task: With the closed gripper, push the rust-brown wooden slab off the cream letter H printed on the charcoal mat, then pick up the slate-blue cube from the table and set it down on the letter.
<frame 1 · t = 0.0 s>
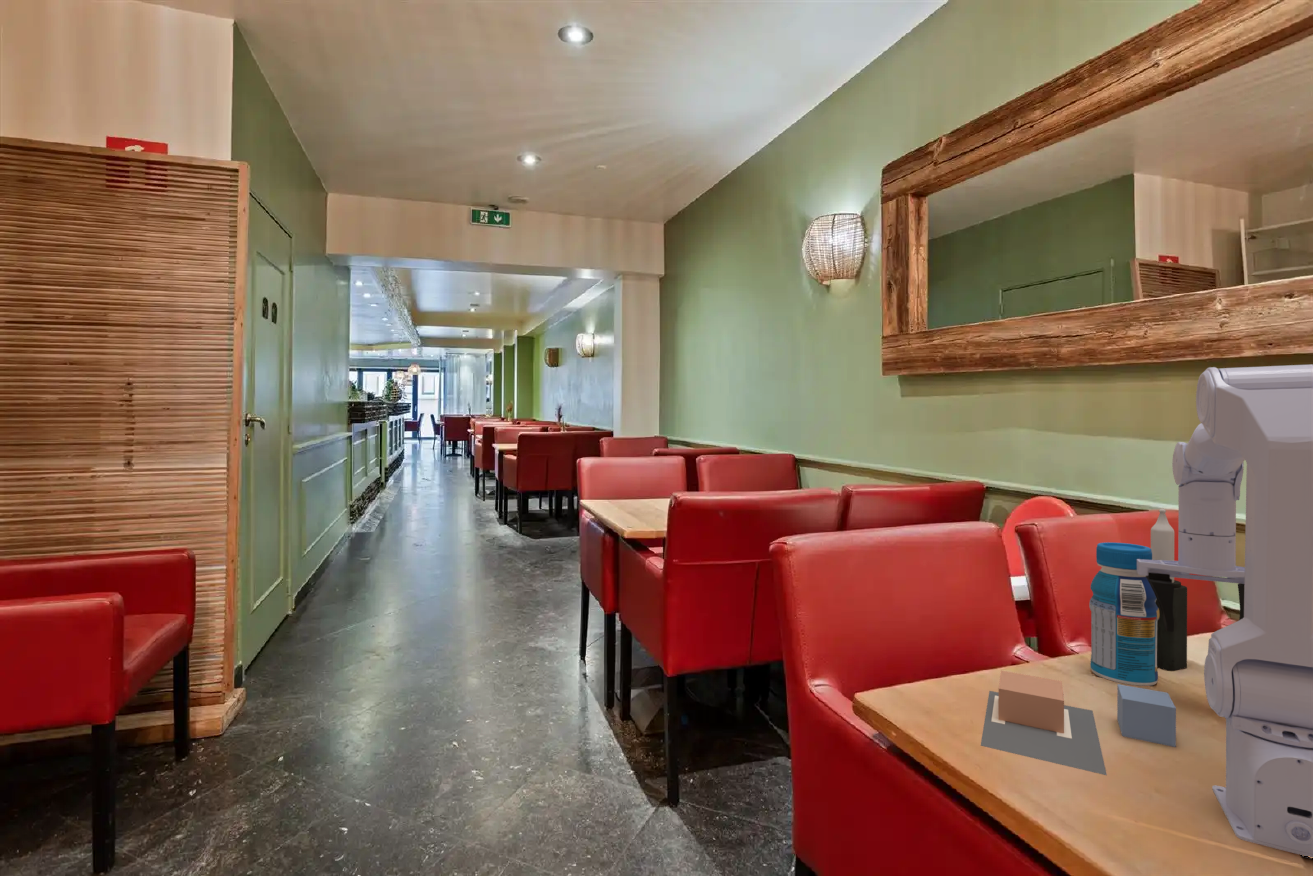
hand: (1205, 634, 82), 10 cm above the table, fingers open, 7 cm apart
blue cube: (1145, 736, 75), on the table
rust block: (1030, 715, 79), resting on letter mat
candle: (1161, 665, 98), on the table
blue supplement bottle: (1123, 678, 93), on the table
letter mat: (1039, 729, 76), on the table
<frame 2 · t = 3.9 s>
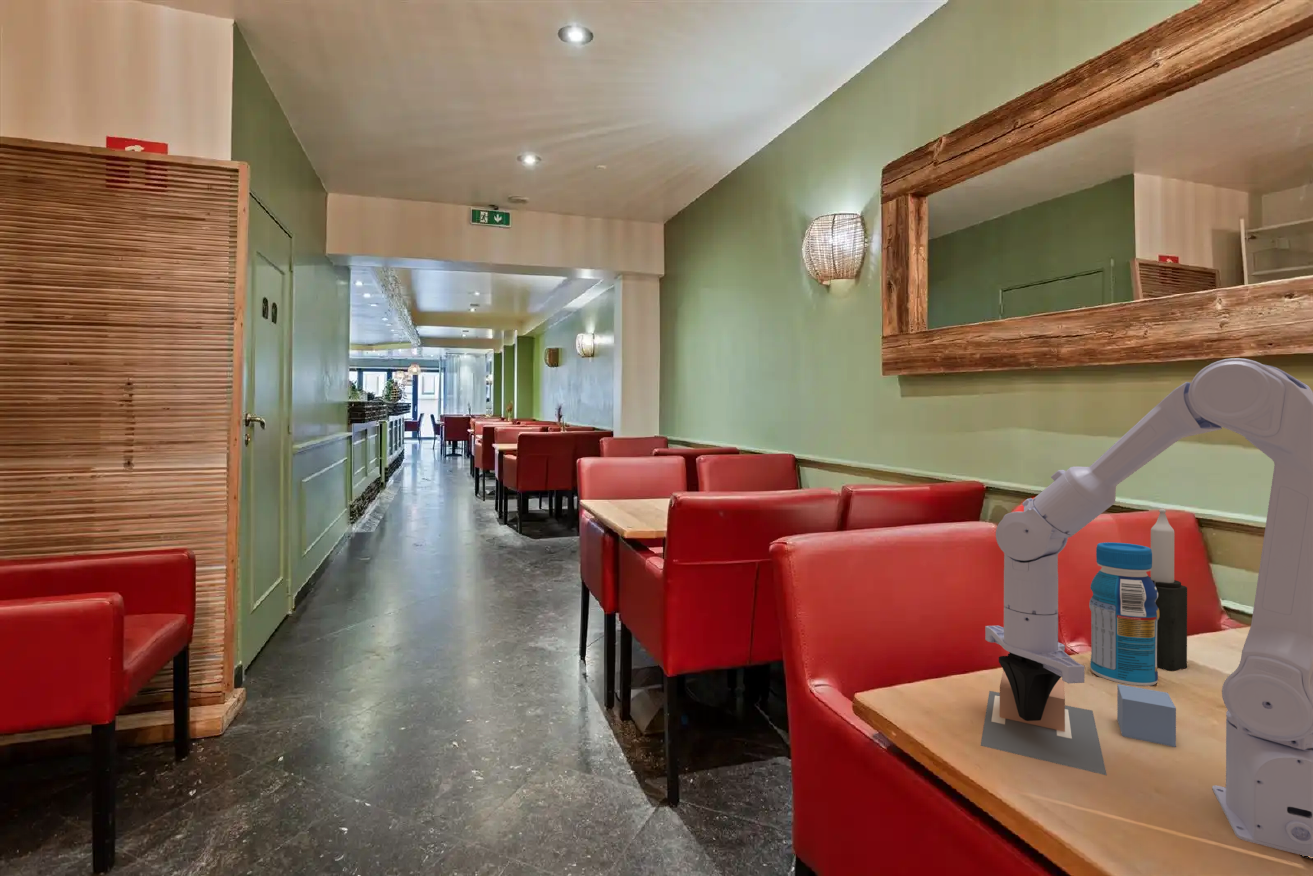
hand: (1030, 718, 75), 2 cm above the table, fingers closed
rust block: (1032, 713, 80), resting on letter mat, touching gripper
everything else where it was.
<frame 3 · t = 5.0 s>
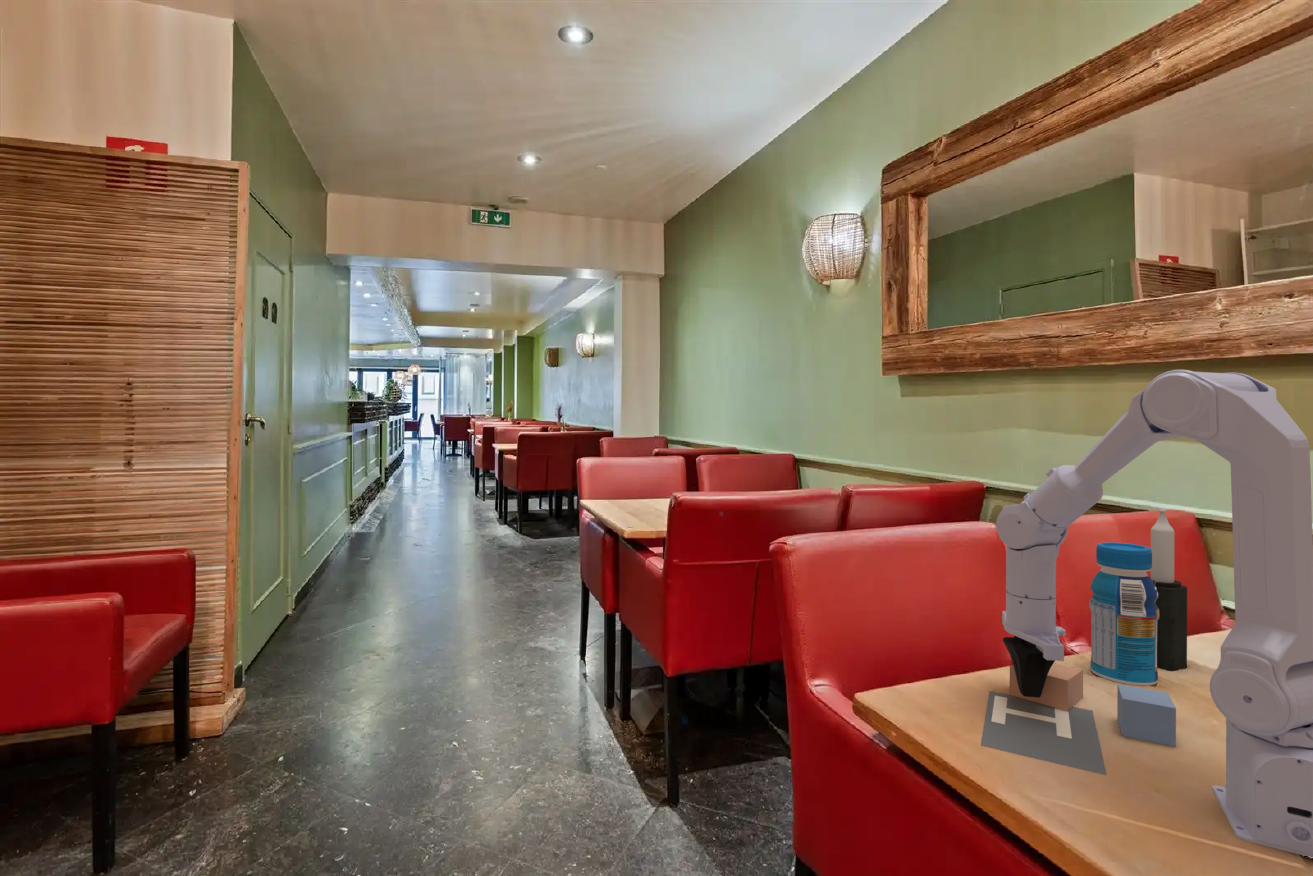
hand: (1030, 695, 82), 2 cm above the table, fingers closed
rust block: (1046, 696, 85), on the table, touching letter mat
everything else where it was.
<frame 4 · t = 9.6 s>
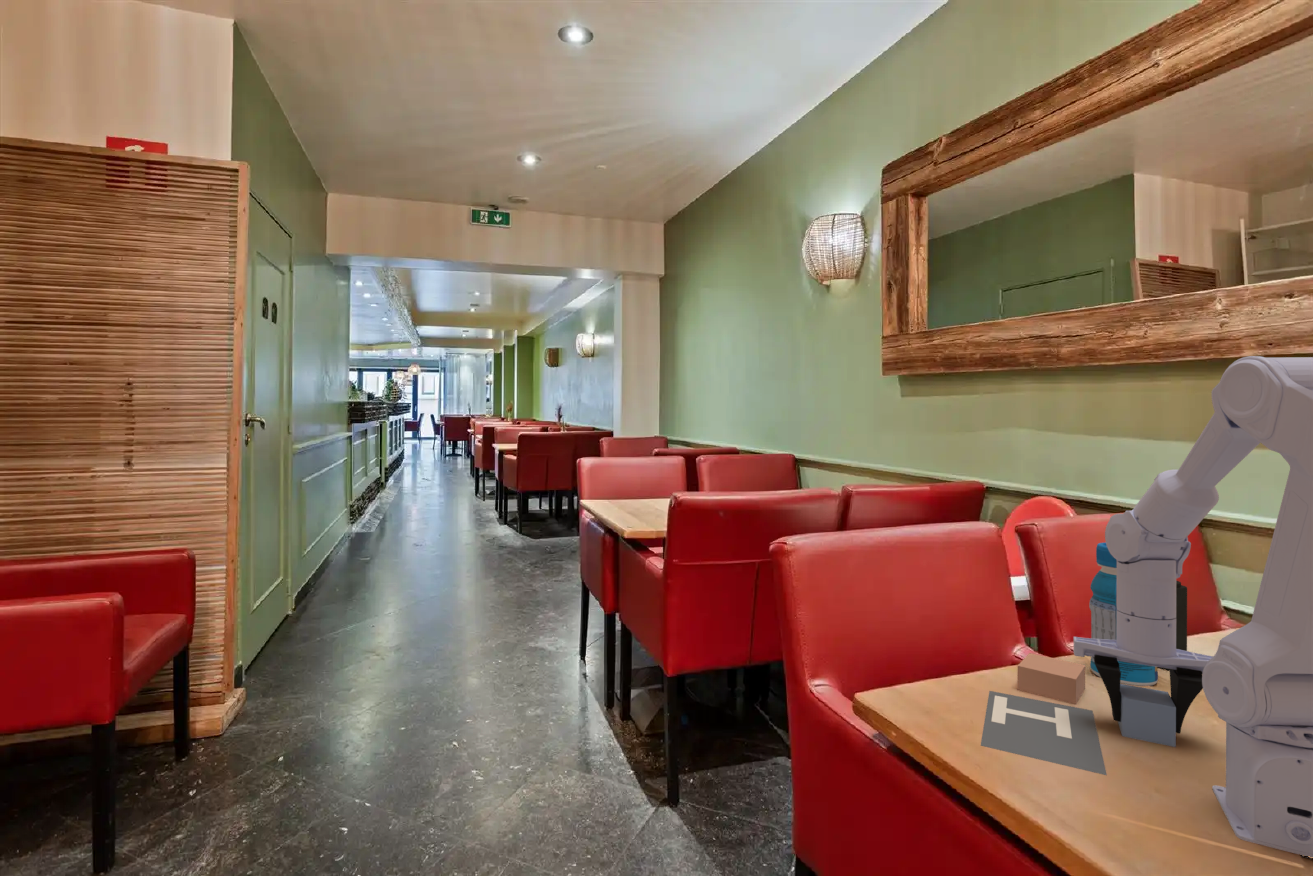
hand: (1145, 723, 75), 1 cm above the table, fingers closed on blue cube, 5 cm apart
blue cube: (1145, 735, 75), on the table, touching gripper
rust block: (1051, 693, 88), on the table
everything else where it was.
when the fingers open (3 cm above the table, at t = 13.5 s): blue cube drops 1 cm, resting on letter mat.
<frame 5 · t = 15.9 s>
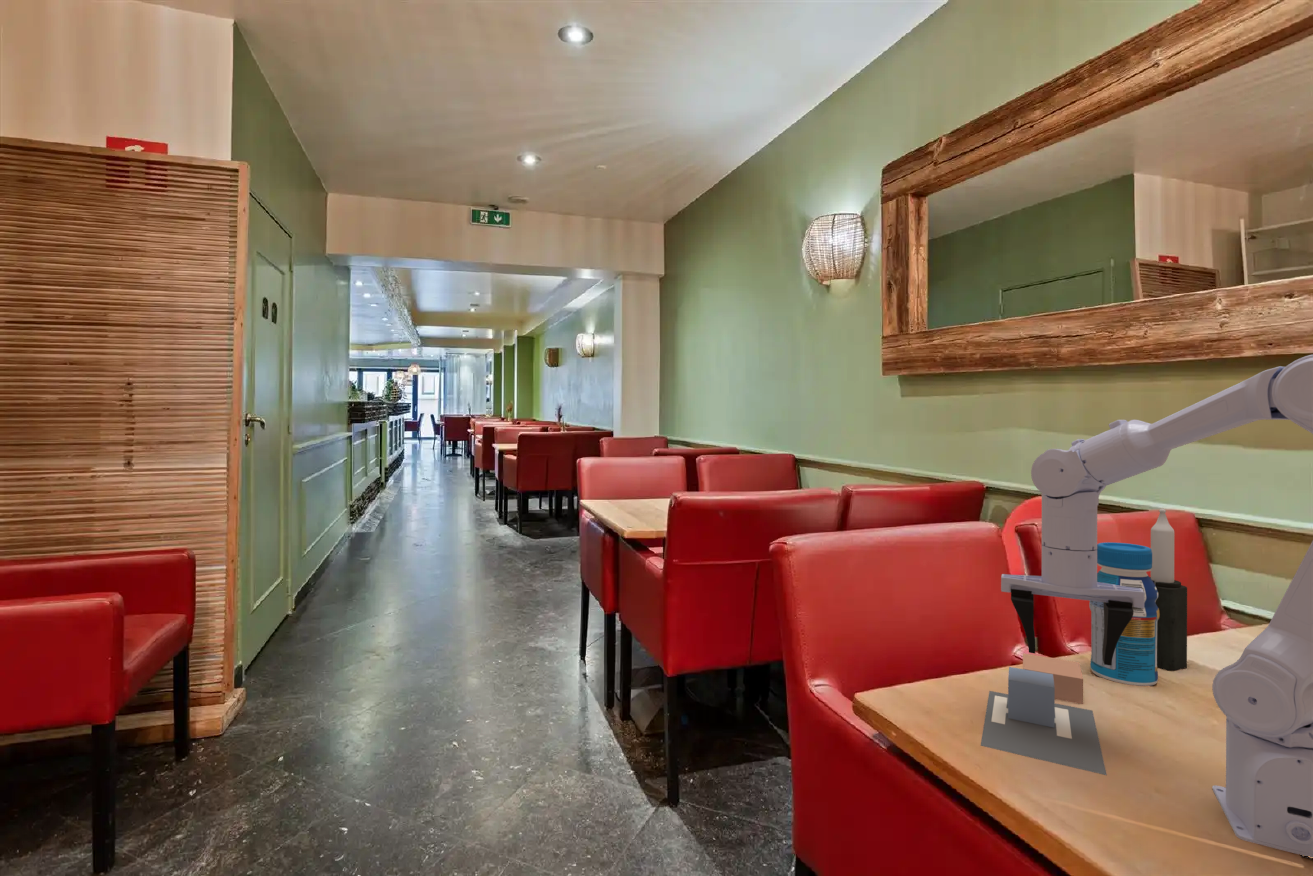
hand: (1068, 656, 76), 9 cm above the table, fingers open, 7 cm apart
blue cube: (1030, 715, 79), resting on letter mat
at the end: blue cube 0.1 cm from the target spot on the letter mat, point 0.3 cm above the letter mat's base; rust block inside the target area (4.1 cm from its centre), on the table; blue cube tilted 0° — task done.
